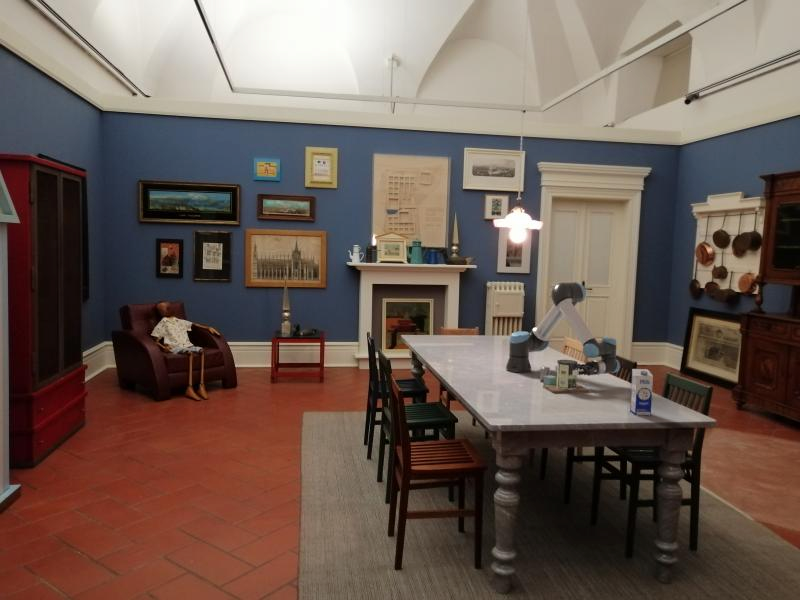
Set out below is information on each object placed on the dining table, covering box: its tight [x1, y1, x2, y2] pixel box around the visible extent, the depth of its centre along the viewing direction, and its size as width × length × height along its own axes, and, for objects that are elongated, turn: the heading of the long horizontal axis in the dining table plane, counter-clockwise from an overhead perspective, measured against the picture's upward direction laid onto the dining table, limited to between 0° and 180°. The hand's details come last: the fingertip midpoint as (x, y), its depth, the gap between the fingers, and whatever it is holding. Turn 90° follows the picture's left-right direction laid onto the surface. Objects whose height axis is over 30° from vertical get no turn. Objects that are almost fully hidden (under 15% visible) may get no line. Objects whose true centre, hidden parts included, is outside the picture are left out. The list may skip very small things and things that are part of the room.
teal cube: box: [542, 374, 557, 386], centre depth 313 cm, size 5×5×5 cm
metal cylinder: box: [539, 366, 551, 384], centre depth 322 cm, size 5×5×8 cm
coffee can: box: [556, 359, 579, 390], centre depth 303 cm, size 10×10×14 cm
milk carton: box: [629, 368, 654, 417], centre depth 260 cm, size 7×7×20 cm
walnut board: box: [542, 383, 590, 394], centre depth 303 cm, size 13×20×1 cm, turn 101°
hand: (563, 370), depth 302 cm, fingers open, 13 cm apart
